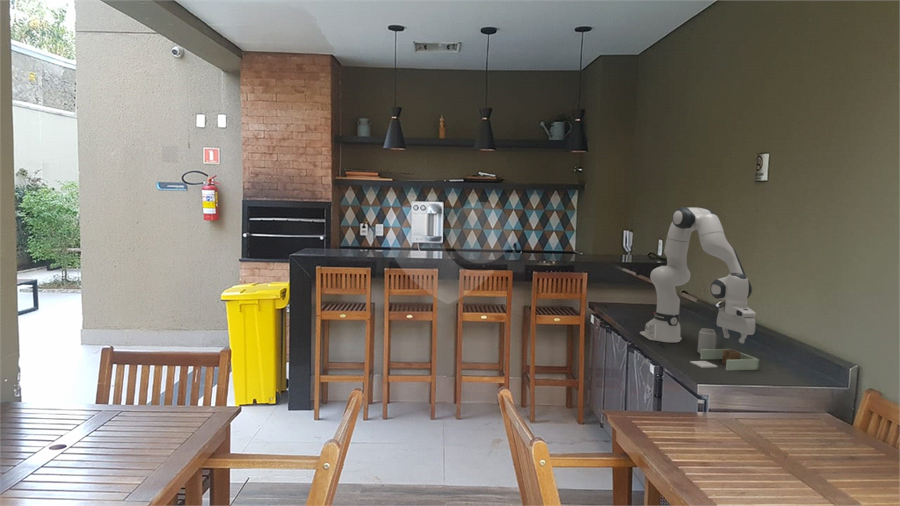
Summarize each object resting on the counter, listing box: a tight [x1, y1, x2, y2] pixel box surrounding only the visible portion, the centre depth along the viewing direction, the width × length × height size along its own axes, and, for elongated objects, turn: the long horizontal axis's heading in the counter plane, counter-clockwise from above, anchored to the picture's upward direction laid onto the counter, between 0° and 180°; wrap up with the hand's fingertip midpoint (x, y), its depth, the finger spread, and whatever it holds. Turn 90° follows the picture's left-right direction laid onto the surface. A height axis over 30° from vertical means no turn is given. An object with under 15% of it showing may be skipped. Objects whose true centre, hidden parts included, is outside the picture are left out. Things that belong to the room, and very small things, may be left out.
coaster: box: [689, 360, 718, 369], centre depth 260 cm, size 8×8×1 cm
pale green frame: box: [699, 348, 760, 372], centre depth 263 cm, size 18×16×4 cm
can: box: [696, 327, 717, 355], centre depth 279 cm, size 8×8×12 cm
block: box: [721, 349, 740, 365], centre depth 263 cm, size 5×5×6 cm
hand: (733, 340), depth 262 cm, fingers open, 8 cm apart
